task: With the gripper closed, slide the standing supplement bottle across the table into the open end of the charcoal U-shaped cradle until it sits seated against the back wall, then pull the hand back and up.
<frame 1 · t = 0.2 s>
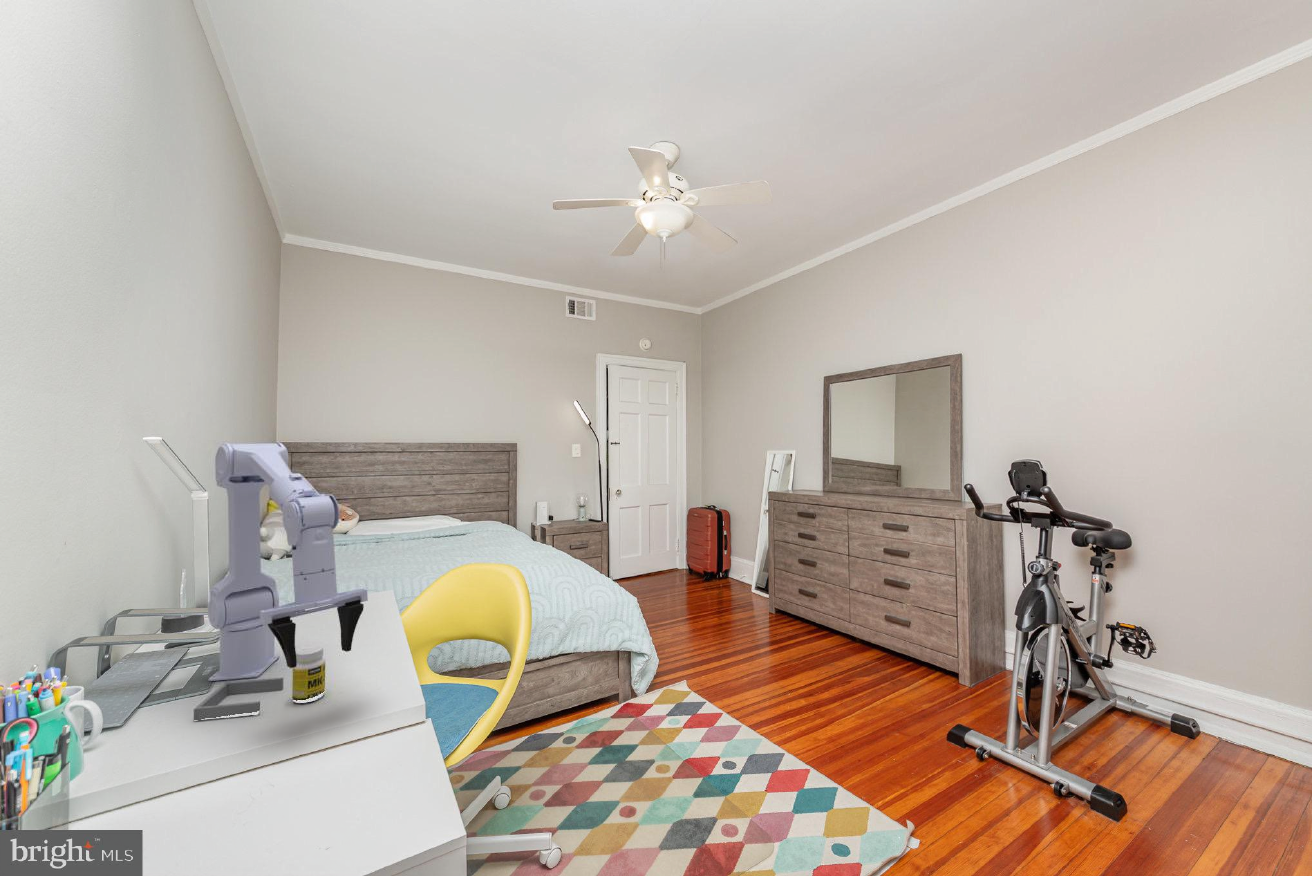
hand: (320, 658, 84), 10 cm above the table, tool pointing down, fingers open, 7 cm apart
cradle: (242, 703, 90), on the table
supplement bottle: (308, 699, 92), on the table
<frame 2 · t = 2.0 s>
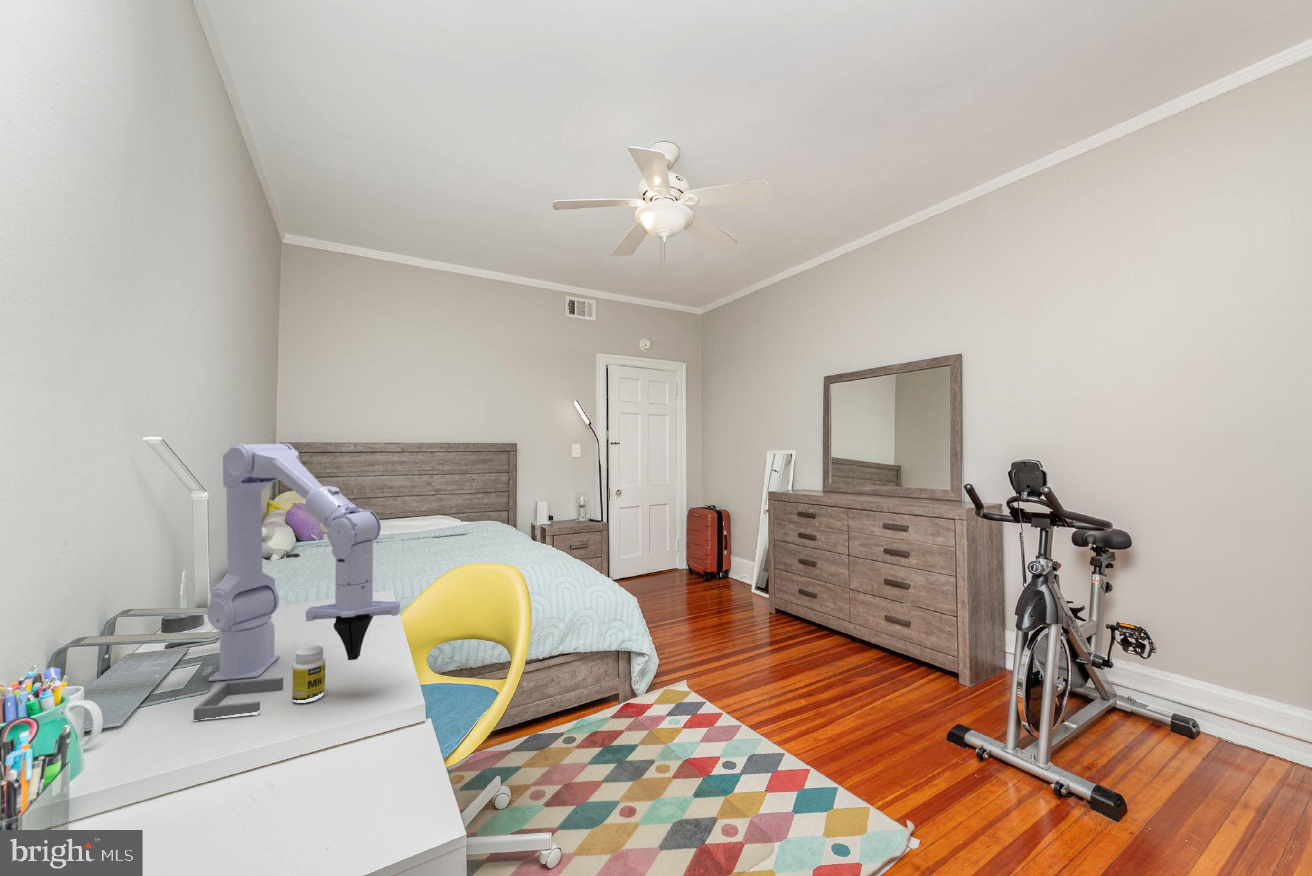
hand: (354, 657, 94), 6 cm above the table, tool pointing down, fingers closed
nothing on the table moved.
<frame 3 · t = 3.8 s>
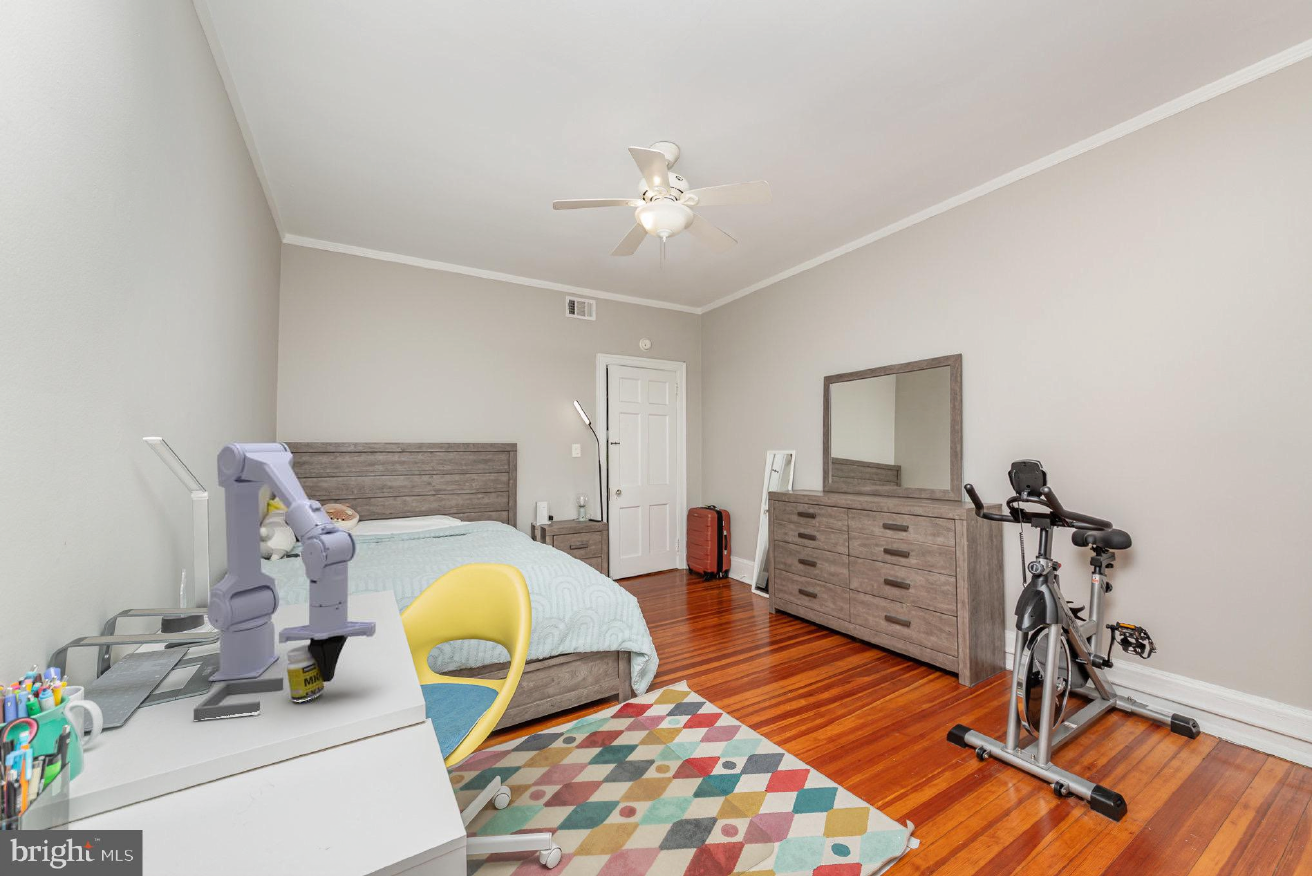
hand: (328, 679, 93), 3 cm above the table, tool pointing down, fingers closed
supplement bottle: (308, 696, 92), on the table, touching gripper
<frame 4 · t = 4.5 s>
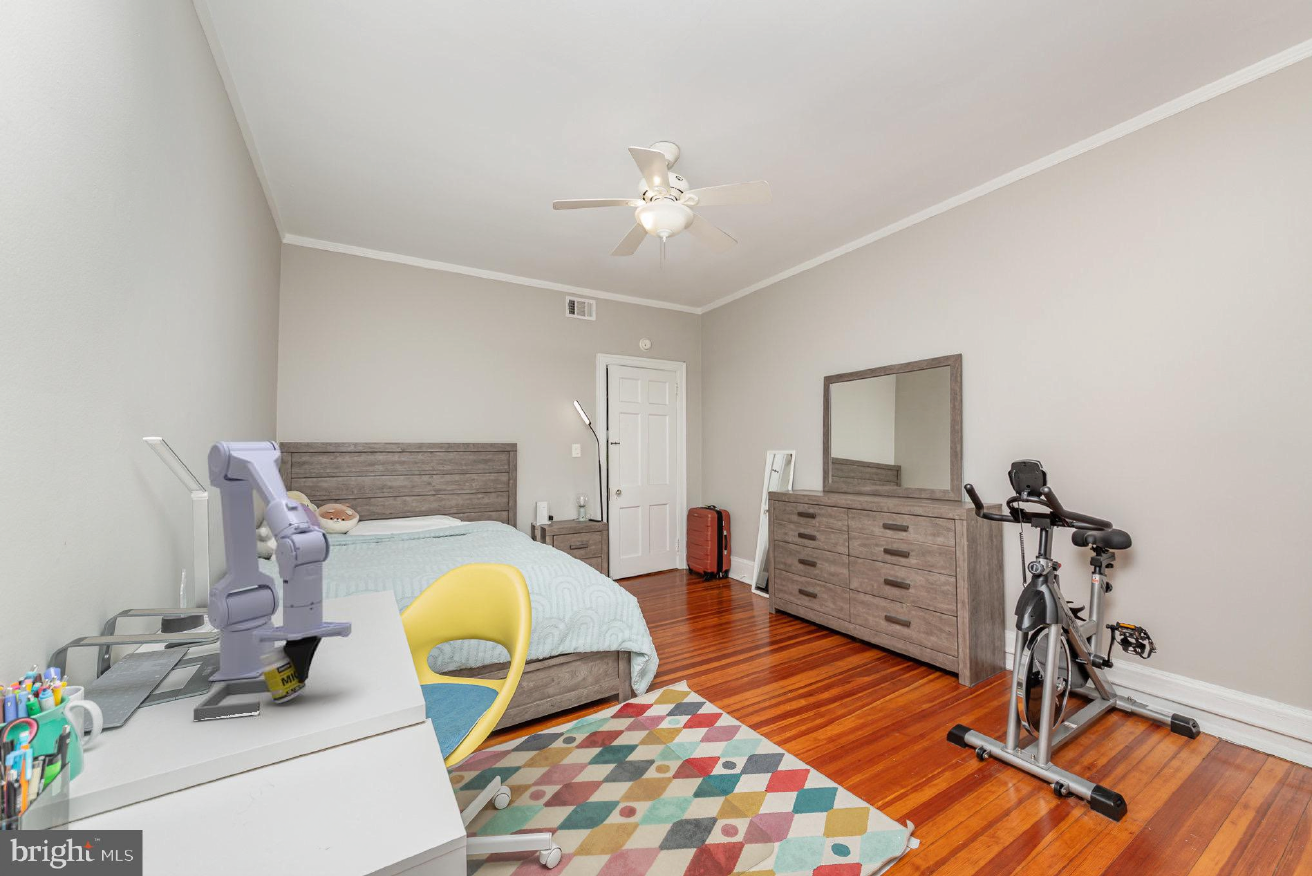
hand: (303, 680, 92), 3 cm above the table, tool pointing down, fingers closed, pressing on supplement bottle
supplement bottle: (291, 696, 91), point 1 cm above the table, touching gripper
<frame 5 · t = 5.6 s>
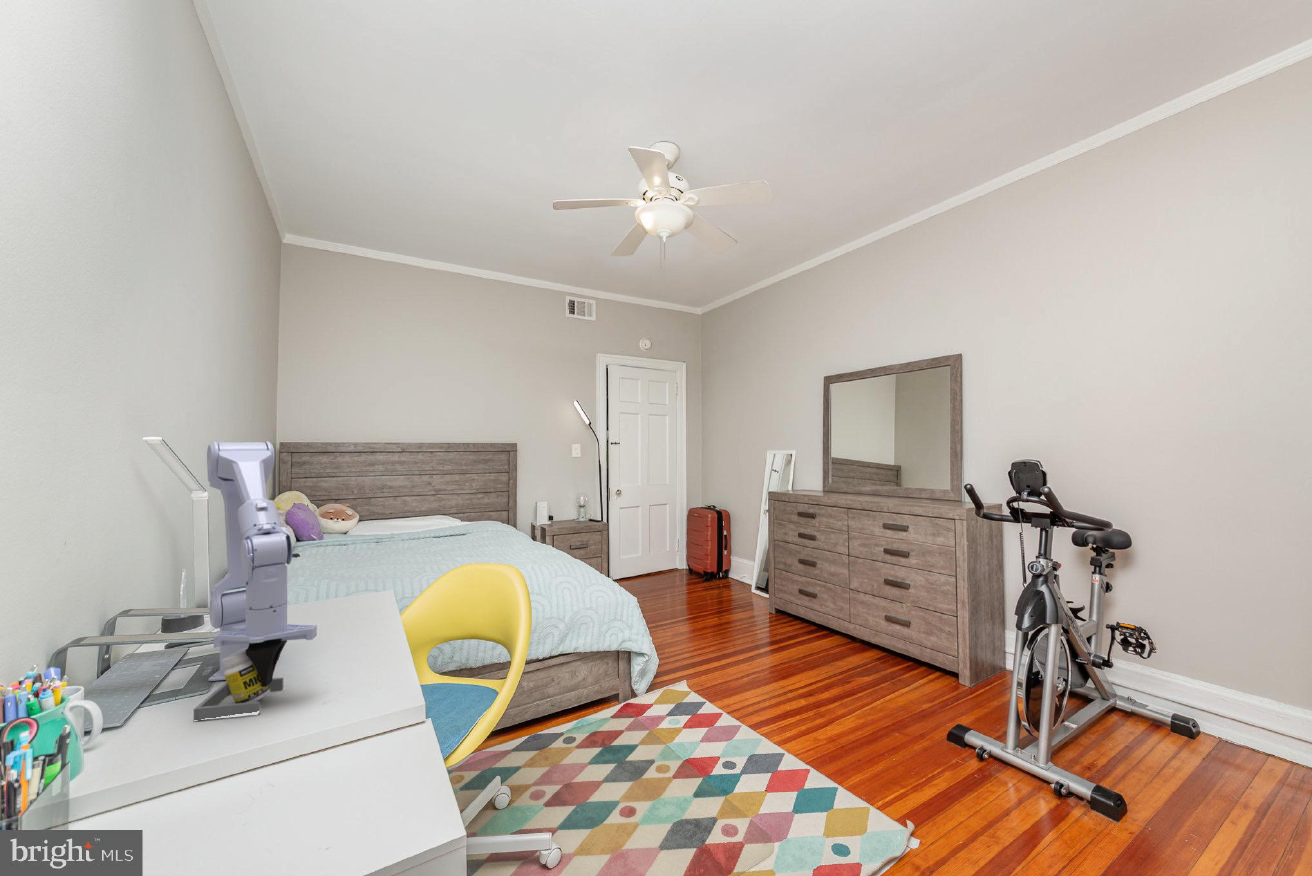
hand: (266, 684, 90), 3 cm above the table, tool pointing down, fingers closed, pressing on supplement bottle
supplement bottle: (254, 699, 90), point 1 cm above the table, touching gripper
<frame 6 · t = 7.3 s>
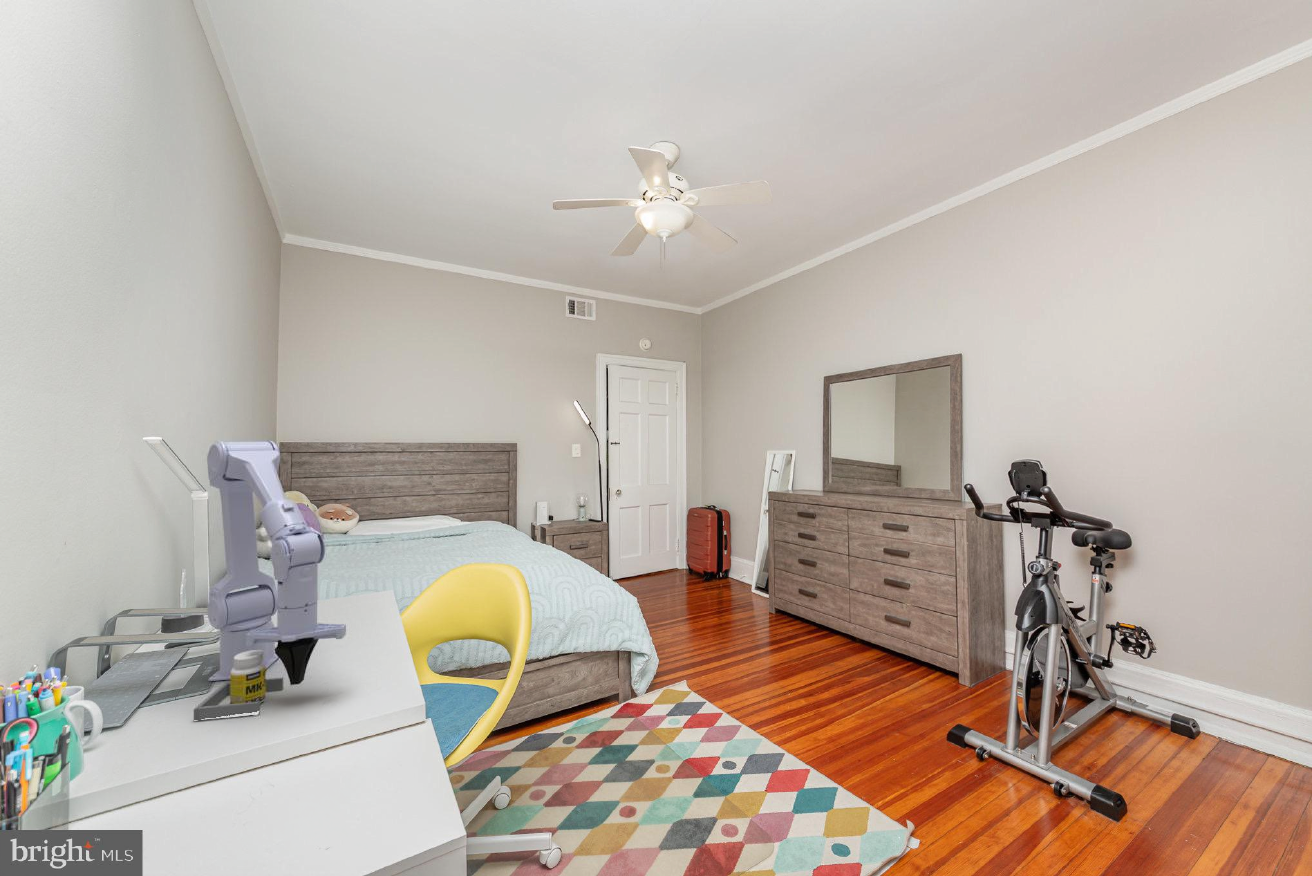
hand: (297, 681, 92), 3 cm above the table, tool pointing down, fingers closed
supplement bottle: (248, 705, 90), on the table
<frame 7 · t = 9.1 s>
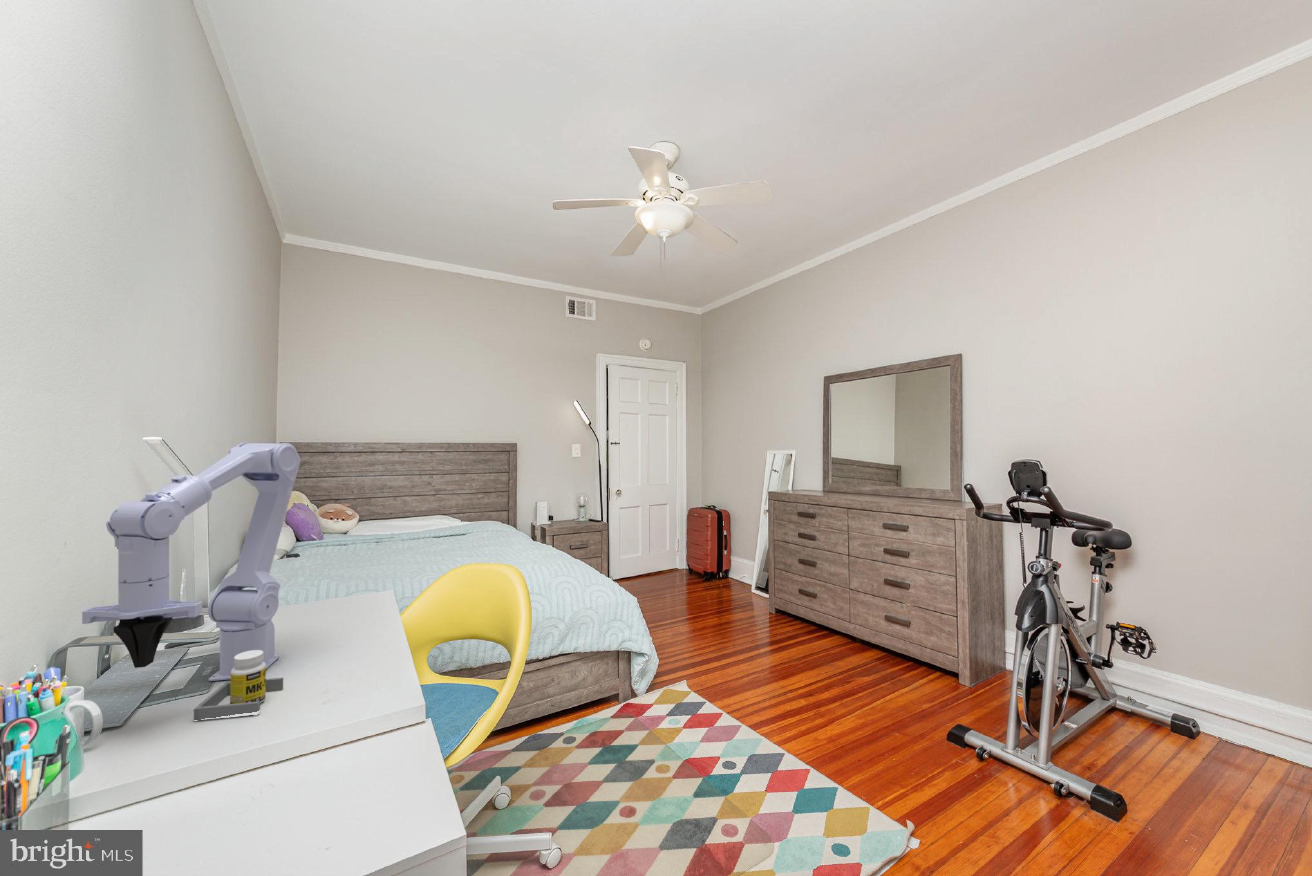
hand: (143, 664, 83), 9 cm above the table, tool pointing down, fingers closed
nothing on the table moved.
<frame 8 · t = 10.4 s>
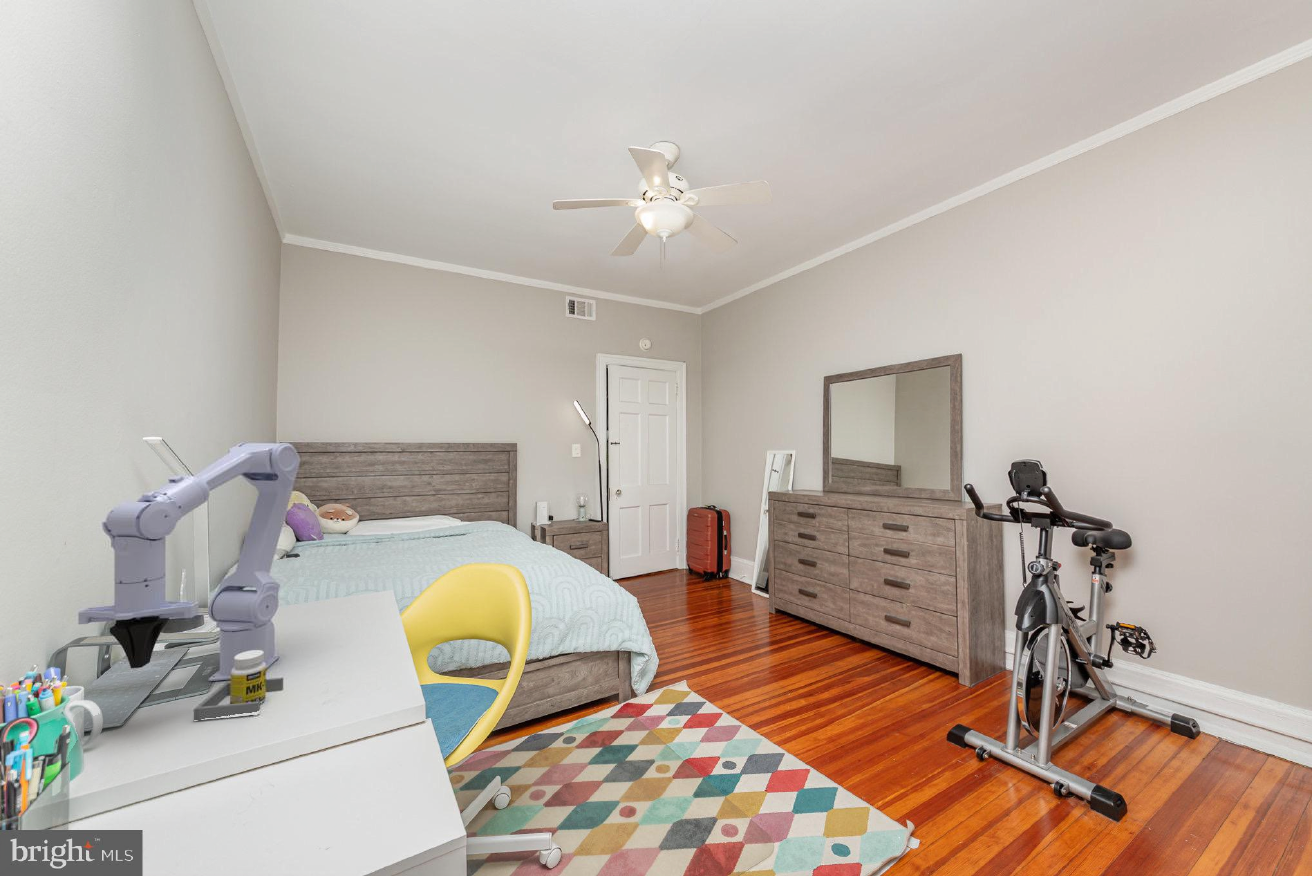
hand: (140, 665, 83), 9 cm above the table, tool pointing down, fingers closed
nothing on the table moved.
at the end: supplement bottle 1.4 cm off-centre on the cradle, point 0.0 cm above the cradle's base; supplement bottle tilted 0°; the gripper is holding nothing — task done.
